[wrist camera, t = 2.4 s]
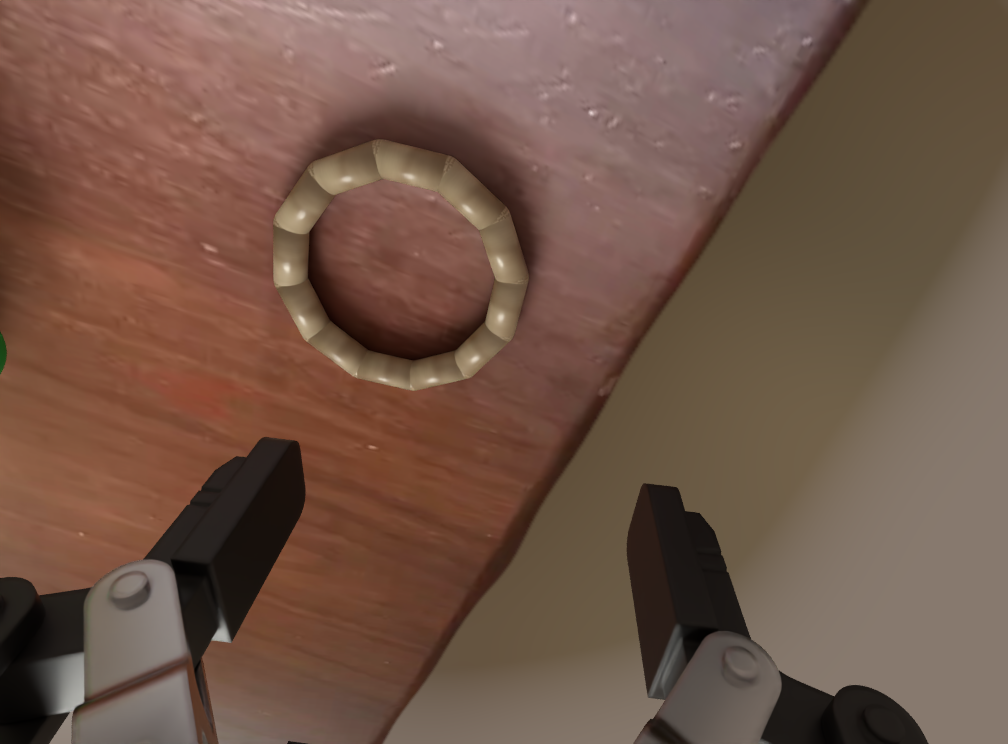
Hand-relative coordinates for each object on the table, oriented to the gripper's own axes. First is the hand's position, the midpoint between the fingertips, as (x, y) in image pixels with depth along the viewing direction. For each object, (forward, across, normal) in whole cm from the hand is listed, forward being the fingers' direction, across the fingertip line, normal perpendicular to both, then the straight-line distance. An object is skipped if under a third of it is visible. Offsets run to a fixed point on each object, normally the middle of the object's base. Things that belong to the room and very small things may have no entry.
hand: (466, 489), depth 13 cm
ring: (+12, +5, 0) cm, 13 cm away
